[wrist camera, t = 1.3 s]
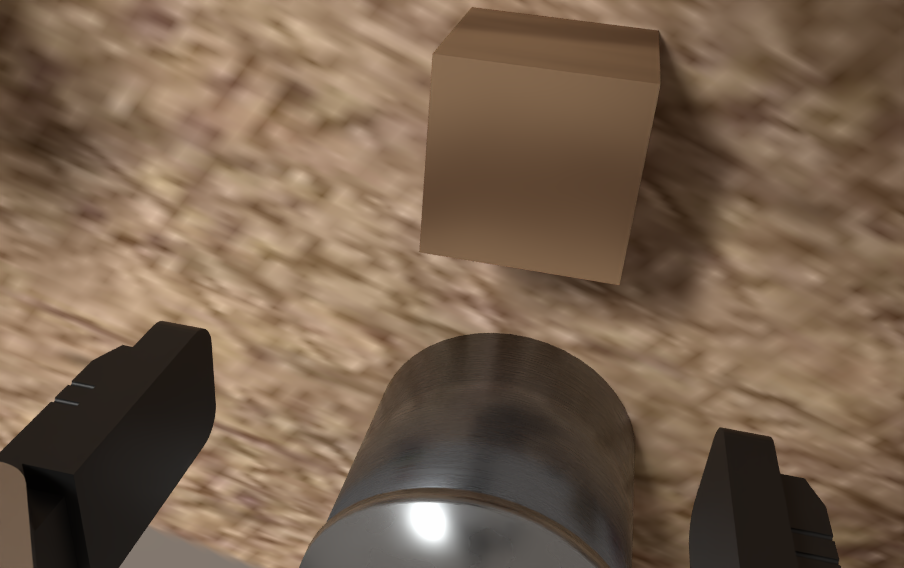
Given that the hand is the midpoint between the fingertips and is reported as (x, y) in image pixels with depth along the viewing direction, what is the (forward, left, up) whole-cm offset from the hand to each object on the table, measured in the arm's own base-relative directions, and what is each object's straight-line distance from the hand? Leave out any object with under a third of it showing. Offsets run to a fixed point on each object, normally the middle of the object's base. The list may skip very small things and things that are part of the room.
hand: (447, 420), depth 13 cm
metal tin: (+10, +9, -16) cm, 20 cm away
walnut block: (0, 0, -16) cm, 16 cm away
